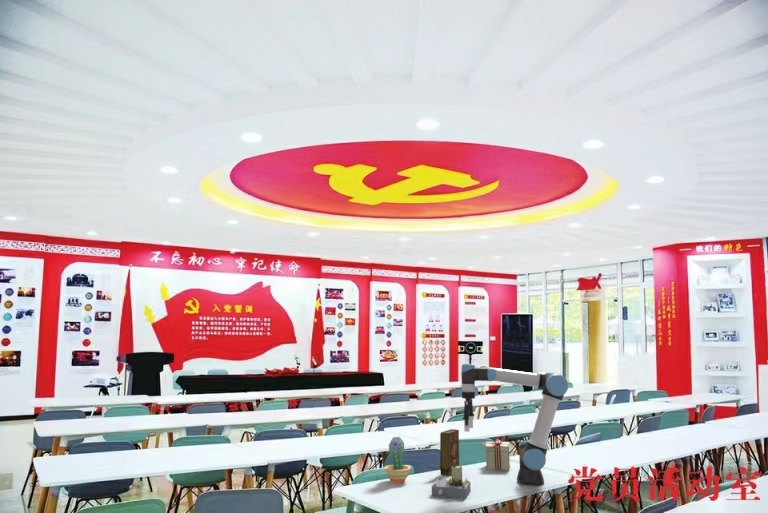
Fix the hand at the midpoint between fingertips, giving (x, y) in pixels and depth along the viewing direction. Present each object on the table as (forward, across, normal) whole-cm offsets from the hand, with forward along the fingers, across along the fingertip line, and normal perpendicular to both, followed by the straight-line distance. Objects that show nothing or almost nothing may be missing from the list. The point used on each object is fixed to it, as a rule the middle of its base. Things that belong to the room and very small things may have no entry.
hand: (468, 429), depth 321 cm
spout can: (+28, +18, -4) cm, 33 cm away
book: (+31, -28, -16) cm, 45 cm away
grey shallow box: (+31, +19, -7) cm, 37 cm away
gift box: (+31, -52, +9) cm, 61 cm away
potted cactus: (+31, +3, -41) cm, 51 cm away
